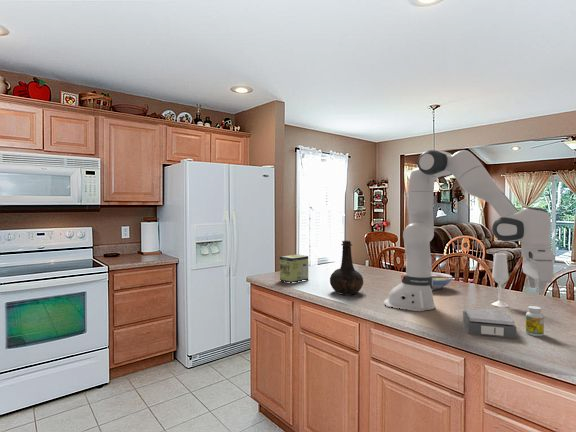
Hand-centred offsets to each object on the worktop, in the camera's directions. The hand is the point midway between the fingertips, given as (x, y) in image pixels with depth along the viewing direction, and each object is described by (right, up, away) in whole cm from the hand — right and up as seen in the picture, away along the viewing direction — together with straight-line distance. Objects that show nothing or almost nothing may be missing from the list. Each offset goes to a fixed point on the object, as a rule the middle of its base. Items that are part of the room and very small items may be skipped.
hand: (536, 290), depth 129 cm
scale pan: (-14, -11, +5) cm, 19 cm away
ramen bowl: (-9, -14, +72) cm, 74 cm away
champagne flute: (+10, -15, +38) cm, 42 cm away
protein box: (-86, -14, +93) cm, 128 cm away
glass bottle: (-58, -15, +63) cm, 87 cm away
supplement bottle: (0, -16, +1) cm, 16 cm away
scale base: (-14, -16, +5) cm, 22 cm away
